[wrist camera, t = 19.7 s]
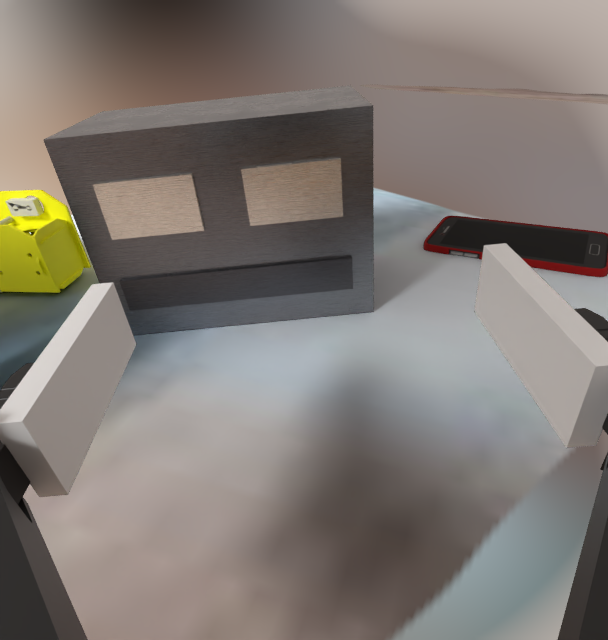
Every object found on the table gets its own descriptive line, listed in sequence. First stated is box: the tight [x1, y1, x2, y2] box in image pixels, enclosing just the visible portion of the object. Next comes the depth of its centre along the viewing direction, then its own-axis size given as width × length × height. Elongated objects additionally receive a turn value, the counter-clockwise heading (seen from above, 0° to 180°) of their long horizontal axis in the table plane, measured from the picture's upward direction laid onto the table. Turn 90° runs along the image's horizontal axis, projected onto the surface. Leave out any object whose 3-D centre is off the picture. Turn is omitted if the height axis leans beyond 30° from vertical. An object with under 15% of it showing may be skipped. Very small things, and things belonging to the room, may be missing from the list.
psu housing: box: [44, 86, 374, 335], centre depth 33 cm, size 19×10×14 cm, turn 92°
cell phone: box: [424, 216, 608, 277], centre depth 40 cm, size 8×15×1 cm, turn 59°
